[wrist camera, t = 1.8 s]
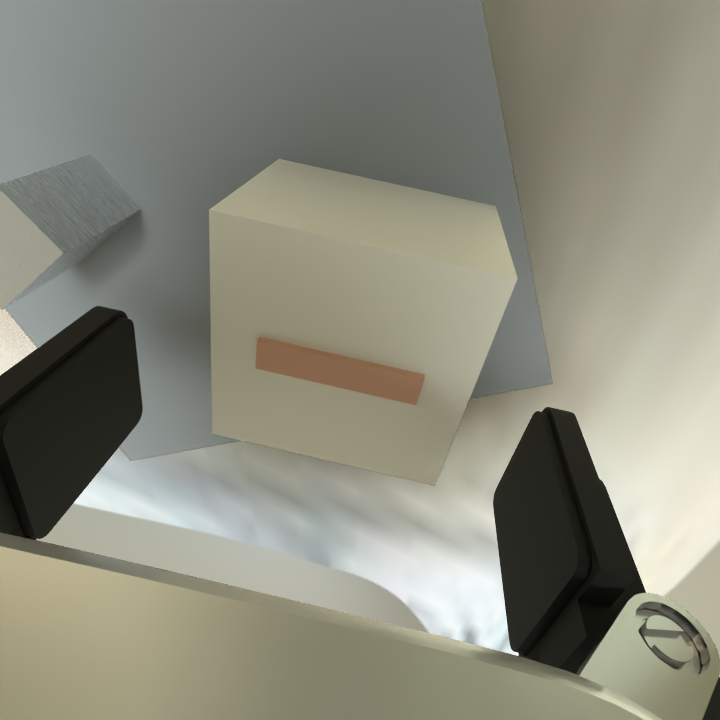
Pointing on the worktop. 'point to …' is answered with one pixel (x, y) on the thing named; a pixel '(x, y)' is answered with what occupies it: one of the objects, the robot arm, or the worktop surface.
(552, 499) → the robot arm
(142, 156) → the base plate
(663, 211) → the worktop surface
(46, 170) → the pale grey block
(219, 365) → the white striped cube
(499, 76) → the worktop surface
